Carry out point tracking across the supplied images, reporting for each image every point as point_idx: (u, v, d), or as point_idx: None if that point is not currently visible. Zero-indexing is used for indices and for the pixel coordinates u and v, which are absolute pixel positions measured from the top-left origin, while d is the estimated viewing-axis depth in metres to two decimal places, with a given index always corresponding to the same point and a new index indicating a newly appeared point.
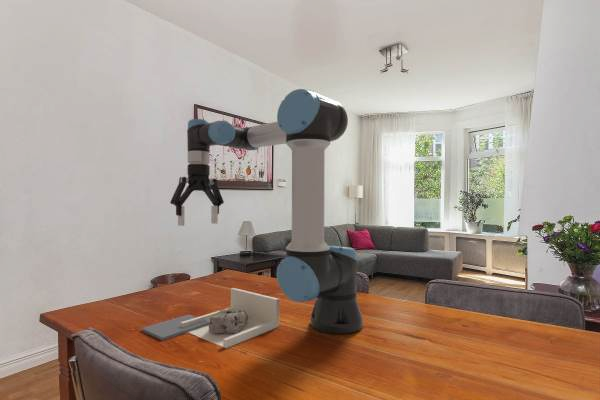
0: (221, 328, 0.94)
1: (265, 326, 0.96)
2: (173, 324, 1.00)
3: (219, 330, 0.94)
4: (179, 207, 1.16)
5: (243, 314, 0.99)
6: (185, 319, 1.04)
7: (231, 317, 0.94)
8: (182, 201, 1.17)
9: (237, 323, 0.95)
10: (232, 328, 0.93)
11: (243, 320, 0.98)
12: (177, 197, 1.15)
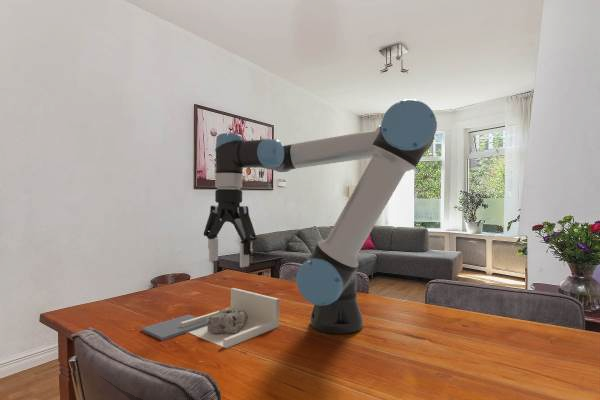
0: (220, 327, 0.94)
1: (265, 326, 0.96)
2: (173, 324, 1.00)
3: (217, 330, 0.94)
4: None
5: (242, 314, 0.99)
6: (185, 319, 1.04)
7: (229, 317, 0.94)
8: (209, 233, 1.03)
9: (236, 323, 0.95)
10: (230, 328, 0.93)
11: (242, 320, 0.98)
12: (206, 228, 1.04)
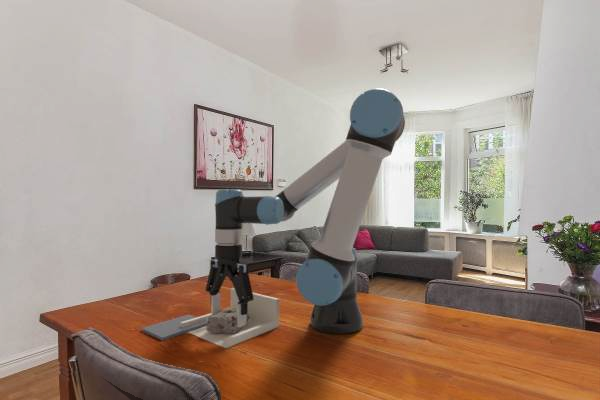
0: (219, 327, 0.94)
1: (265, 326, 0.96)
2: (173, 324, 1.00)
3: (216, 330, 0.94)
4: None
5: None
6: (185, 319, 1.04)
7: (228, 317, 0.94)
8: (211, 289, 1.02)
9: (235, 323, 0.95)
10: (229, 328, 0.93)
11: None
12: (207, 284, 1.03)
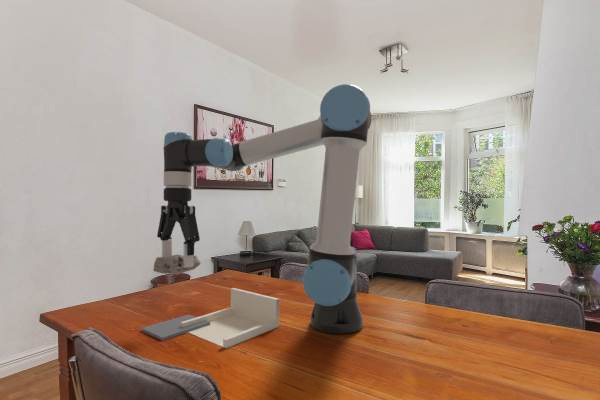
0: (165, 267, 0.95)
1: (265, 326, 0.96)
2: (173, 324, 1.00)
3: (163, 270, 0.95)
4: None
5: None
6: (185, 319, 1.04)
7: (174, 257, 0.95)
8: (162, 234, 1.03)
9: (181, 264, 0.96)
10: (174, 267, 0.94)
11: None
12: (158, 230, 1.04)
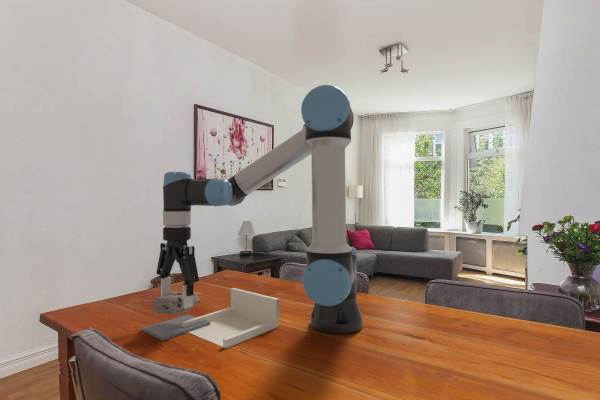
0: (164, 308, 0.95)
1: (265, 326, 0.96)
2: (173, 324, 1.00)
3: (162, 310, 0.95)
4: None
5: None
6: (185, 319, 1.04)
7: (174, 298, 0.94)
8: (161, 272, 1.02)
9: (181, 304, 0.96)
10: (174, 309, 0.94)
11: None
12: (158, 267, 1.04)
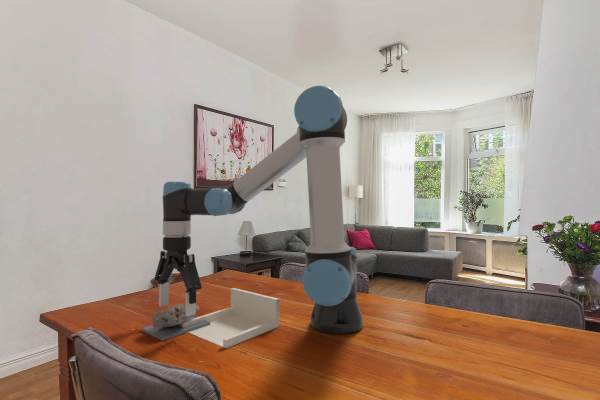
0: (164, 321, 0.95)
1: (265, 326, 0.96)
2: None
3: (162, 324, 0.95)
4: None
5: None
6: None
7: (171, 309, 0.95)
8: (159, 278, 1.03)
9: (179, 314, 0.96)
10: (172, 319, 0.94)
11: None
12: (156, 273, 1.04)
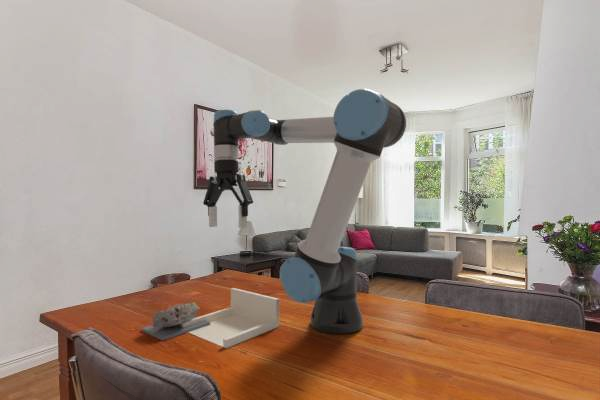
0: (164, 321, 0.95)
1: (265, 326, 0.96)
2: None
3: (162, 324, 0.95)
4: (209, 208, 1.14)
5: (188, 305, 0.99)
6: None
7: (170, 309, 0.95)
8: (209, 202, 1.13)
9: (179, 314, 0.96)
10: (172, 319, 0.94)
11: (187, 311, 0.98)
12: (205, 198, 1.15)
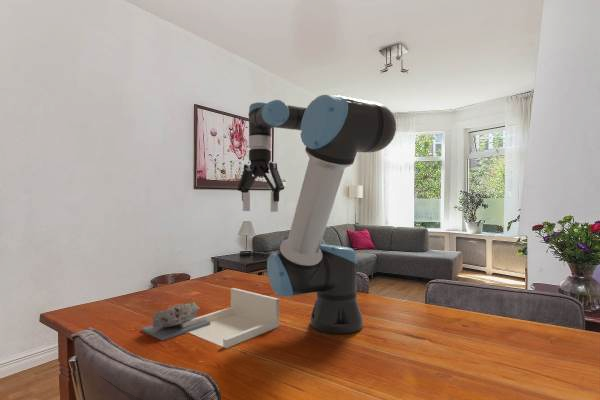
0: (164, 321, 0.95)
1: (265, 326, 0.96)
2: None
3: (162, 324, 0.95)
4: (242, 193, 1.24)
5: (188, 305, 0.99)
6: None
7: (170, 309, 0.95)
8: (243, 188, 1.23)
9: (179, 314, 0.96)
10: (172, 319, 0.94)
11: (187, 311, 0.98)
12: (239, 184, 1.24)
